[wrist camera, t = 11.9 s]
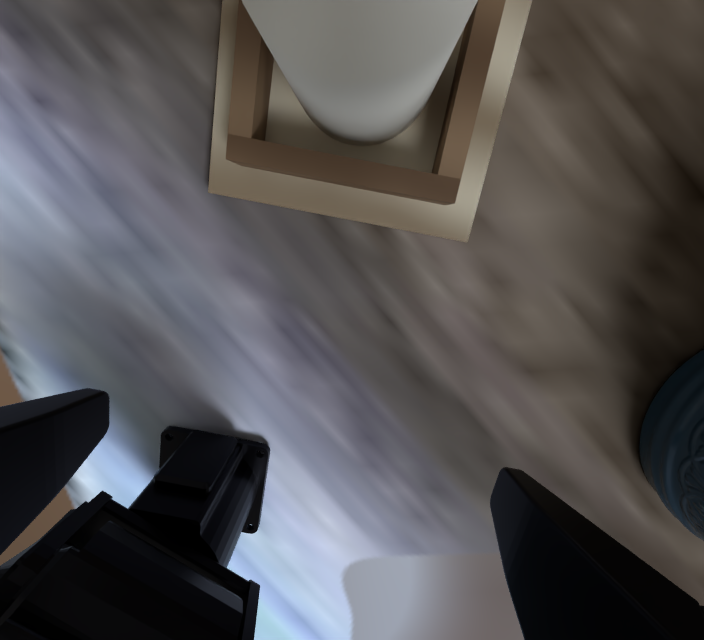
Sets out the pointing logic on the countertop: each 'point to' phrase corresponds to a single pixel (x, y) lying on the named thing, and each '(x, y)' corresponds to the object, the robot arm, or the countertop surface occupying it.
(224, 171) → the holder
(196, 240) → the countertop surface
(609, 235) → the countertop surface
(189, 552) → the robot arm
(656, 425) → the canister
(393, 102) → the towel roll
